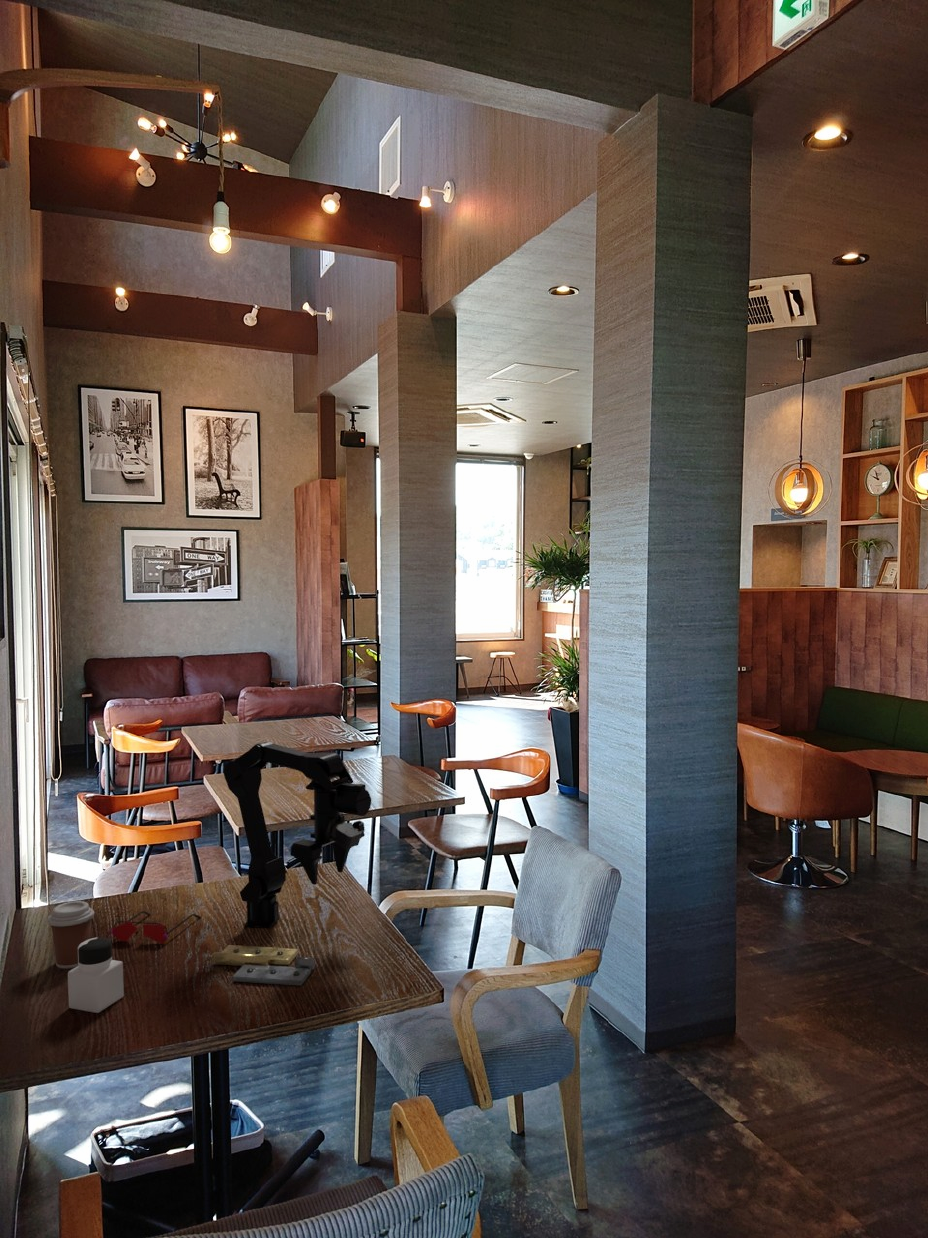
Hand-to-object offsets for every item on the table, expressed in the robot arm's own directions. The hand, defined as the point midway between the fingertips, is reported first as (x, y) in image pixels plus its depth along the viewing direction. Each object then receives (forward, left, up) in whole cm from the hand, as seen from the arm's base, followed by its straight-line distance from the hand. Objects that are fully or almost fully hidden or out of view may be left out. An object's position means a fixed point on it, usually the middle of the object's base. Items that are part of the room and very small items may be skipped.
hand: (327, 878), depth 195 cm
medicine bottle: (-35, -36, -14) cm, 52 cm away
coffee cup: (-51, -20, -14) cm, 56 cm away
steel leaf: (-5, -20, -13) cm, 24 cm away
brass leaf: (-12, -14, -13) cm, 22 cm away
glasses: (-42, -1, -14) cm, 44 cm away
